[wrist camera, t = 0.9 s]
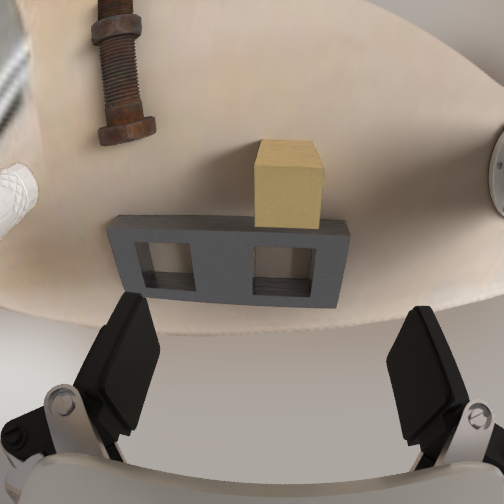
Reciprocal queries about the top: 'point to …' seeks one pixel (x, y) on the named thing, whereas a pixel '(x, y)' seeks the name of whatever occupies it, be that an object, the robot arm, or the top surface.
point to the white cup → (16, 196)
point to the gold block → (288, 184)
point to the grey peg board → (228, 260)
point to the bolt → (120, 73)
